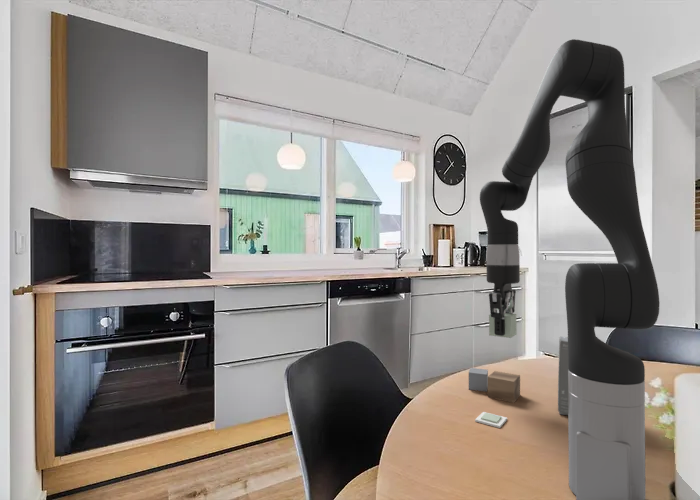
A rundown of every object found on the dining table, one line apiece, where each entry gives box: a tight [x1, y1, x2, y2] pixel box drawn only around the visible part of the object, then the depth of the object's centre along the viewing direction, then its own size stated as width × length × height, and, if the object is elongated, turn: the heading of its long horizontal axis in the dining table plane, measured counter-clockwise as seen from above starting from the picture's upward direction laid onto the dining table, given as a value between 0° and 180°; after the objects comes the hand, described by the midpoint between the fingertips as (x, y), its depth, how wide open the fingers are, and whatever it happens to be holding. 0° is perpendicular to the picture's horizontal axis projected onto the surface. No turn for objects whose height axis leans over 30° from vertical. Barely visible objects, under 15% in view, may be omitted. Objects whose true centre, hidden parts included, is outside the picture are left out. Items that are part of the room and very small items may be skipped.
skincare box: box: [557, 336, 568, 416], centre depth 85 cm, size 8×7×16 cm
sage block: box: [488, 311, 517, 339], centre depth 95 cm, size 5×5×5 cm
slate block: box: [468, 367, 489, 393], centre depth 100 cm, size 4×4×4 cm
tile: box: [474, 411, 508, 429], centre depth 81 cm, size 5×5×1 cm
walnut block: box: [487, 370, 521, 403], centre depth 94 cm, size 6×6×5 cm
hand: (503, 332), depth 95 cm, fingers closed on sage block, 5 cm apart
